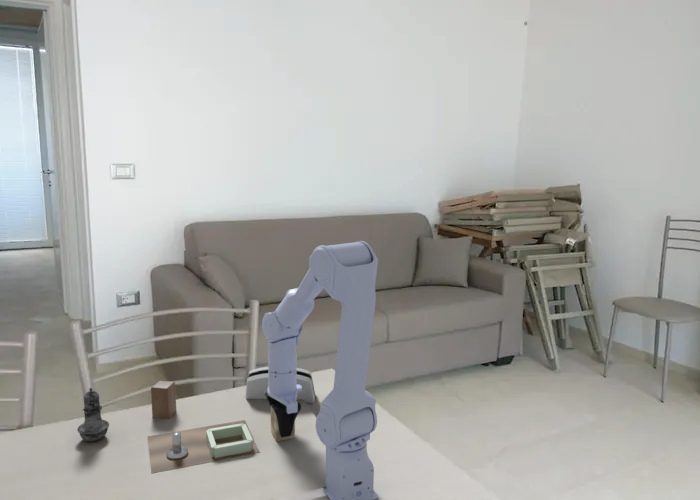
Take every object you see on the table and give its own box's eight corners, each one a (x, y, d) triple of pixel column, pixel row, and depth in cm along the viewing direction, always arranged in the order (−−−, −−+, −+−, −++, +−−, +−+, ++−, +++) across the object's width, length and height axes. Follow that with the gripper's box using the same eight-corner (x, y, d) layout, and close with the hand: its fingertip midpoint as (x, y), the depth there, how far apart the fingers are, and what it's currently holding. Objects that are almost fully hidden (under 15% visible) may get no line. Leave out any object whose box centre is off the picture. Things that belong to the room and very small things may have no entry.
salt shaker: (75, 452, 110) (71, 395, 108) (81, 437, 115) (77, 382, 113) (108, 448, 111) (104, 392, 109) (112, 434, 117) (108, 380, 115)
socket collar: (253, 450, 110) (253, 441, 109) (212, 458, 106) (211, 449, 106) (245, 431, 117) (244, 422, 116) (206, 438, 114) (205, 429, 113)
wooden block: (151, 421, 122) (150, 387, 121) (160, 413, 126) (158, 379, 125) (169, 423, 122) (167, 388, 120) (177, 414, 126) (175, 381, 124)
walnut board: (259, 457, 109) (259, 452, 109) (151, 478, 102) (151, 473, 101) (244, 424, 122) (244, 420, 122) (147, 440, 114) (147, 436, 114)
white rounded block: (315, 393, 138) (315, 362, 133) (315, 407, 134) (314, 376, 129) (247, 392, 137) (244, 361, 132) (244, 407, 133) (241, 375, 128)
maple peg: (294, 442, 115) (294, 410, 114) (275, 445, 113) (275, 413, 112) (289, 432, 119) (289, 402, 117) (270, 436, 117) (270, 405, 116)
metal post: (189, 457, 107) (188, 436, 106) (167, 461, 105) (166, 440, 105) (186, 447, 110) (186, 427, 110) (165, 450, 109) (164, 430, 108)
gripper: (312, 379, 108) (312, 444, 111) (291, 353, 121) (291, 411, 124) (277, 384, 105) (277, 450, 108) (259, 357, 119) (259, 417, 121)
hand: (282, 430), depth 116 cm, fingers closed on maple peg, 4 cm apart
